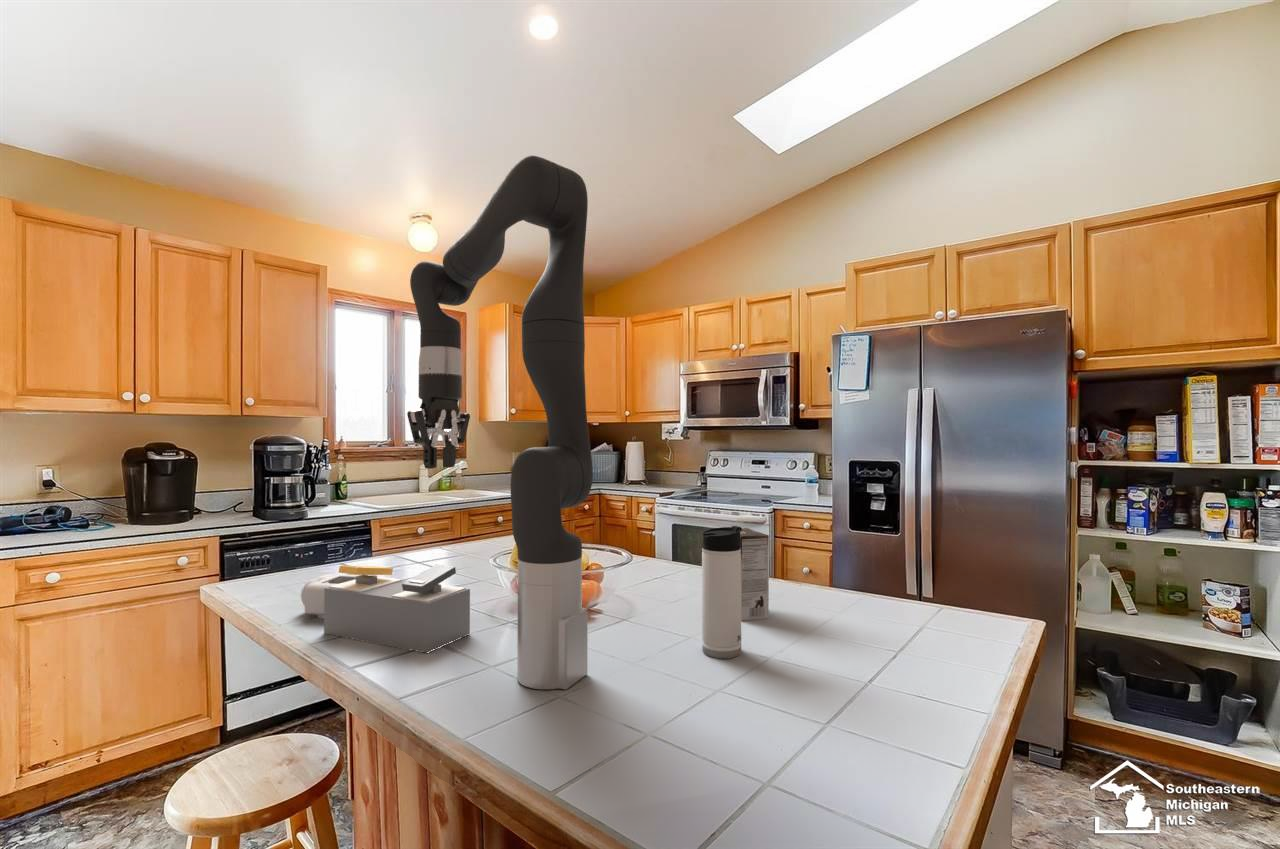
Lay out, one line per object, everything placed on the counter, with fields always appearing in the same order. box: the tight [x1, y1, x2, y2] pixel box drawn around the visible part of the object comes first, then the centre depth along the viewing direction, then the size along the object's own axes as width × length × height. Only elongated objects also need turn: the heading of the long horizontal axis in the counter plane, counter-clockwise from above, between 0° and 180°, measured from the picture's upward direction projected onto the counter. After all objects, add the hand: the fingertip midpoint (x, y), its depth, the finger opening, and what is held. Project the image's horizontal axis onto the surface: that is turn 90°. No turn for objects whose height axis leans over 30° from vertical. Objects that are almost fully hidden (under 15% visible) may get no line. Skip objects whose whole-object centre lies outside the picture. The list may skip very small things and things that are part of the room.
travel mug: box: [701, 525, 742, 659], centre depth 96 cm, size 6×7×20 cm
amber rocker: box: [338, 564, 394, 576], centre depth 107 cm, size 4×8×1 cm, turn 156°
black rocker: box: [402, 564, 457, 593], centre depth 101 cm, size 4×8×1 cm, turn 156°
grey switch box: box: [323, 575, 471, 652], centre depth 104 cm, size 24×10×9 cm, turn 66°
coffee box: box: [740, 527, 770, 622], centre depth 116 cm, size 9×6×16 cm
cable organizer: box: [300, 573, 359, 619], centre depth 118 cm, size 7×12×12 cm
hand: (439, 467), depth 107 cm, fingers open, 4 cm apart
